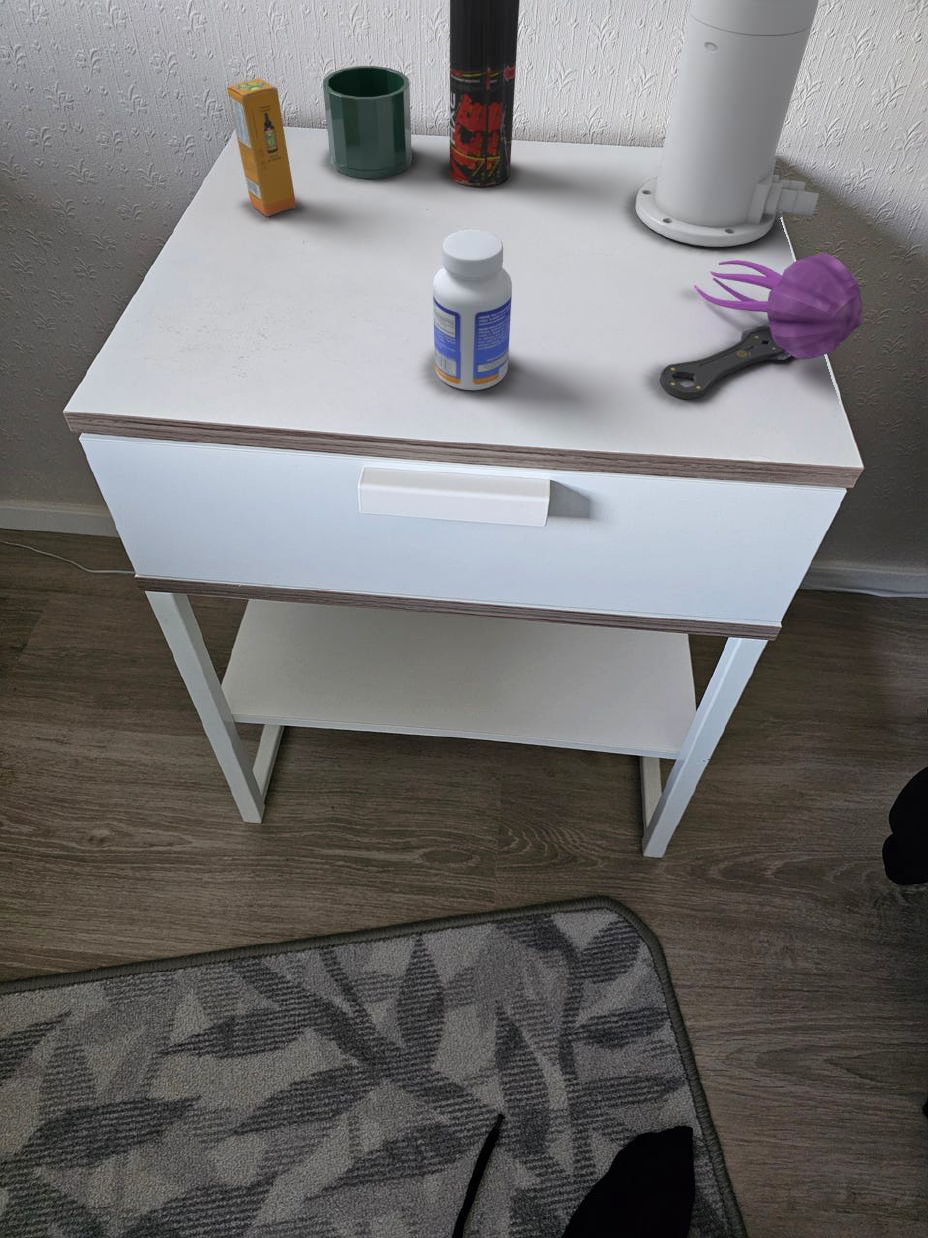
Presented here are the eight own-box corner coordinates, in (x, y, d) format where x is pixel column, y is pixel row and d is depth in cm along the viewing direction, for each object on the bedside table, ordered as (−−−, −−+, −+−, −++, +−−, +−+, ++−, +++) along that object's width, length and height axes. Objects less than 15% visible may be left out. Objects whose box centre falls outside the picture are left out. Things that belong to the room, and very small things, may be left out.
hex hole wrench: (689, 400, 60) (687, 407, 60) (872, 315, 67) (869, 322, 67) (648, 369, 62) (646, 376, 62) (829, 290, 69) (827, 297, 70)
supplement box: (279, 194, 79) (260, 74, 71) (297, 208, 78) (280, 87, 70) (247, 203, 78) (225, 82, 70) (265, 218, 76) (244, 96, 68)
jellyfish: (724, 210, 66) (877, 243, 55) (748, 280, 71) (895, 323, 60) (661, 268, 66) (801, 312, 55) (690, 334, 71) (825, 387, 60)
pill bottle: (509, 351, 64) (518, 225, 56) (504, 395, 61) (512, 267, 53) (438, 346, 64) (437, 220, 57) (430, 389, 61) (427, 261, 53)
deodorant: (437, 169, 83) (435, -15, 71) (485, 154, 85) (491, -27, 73) (473, 192, 80) (478, 4, 68) (522, 176, 82) (534, -9, 71)
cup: (422, 149, 86) (421, 72, 80) (394, 184, 81) (390, 103, 75) (350, 138, 87) (343, 61, 82) (318, 171, 82) (308, 91, 77)
